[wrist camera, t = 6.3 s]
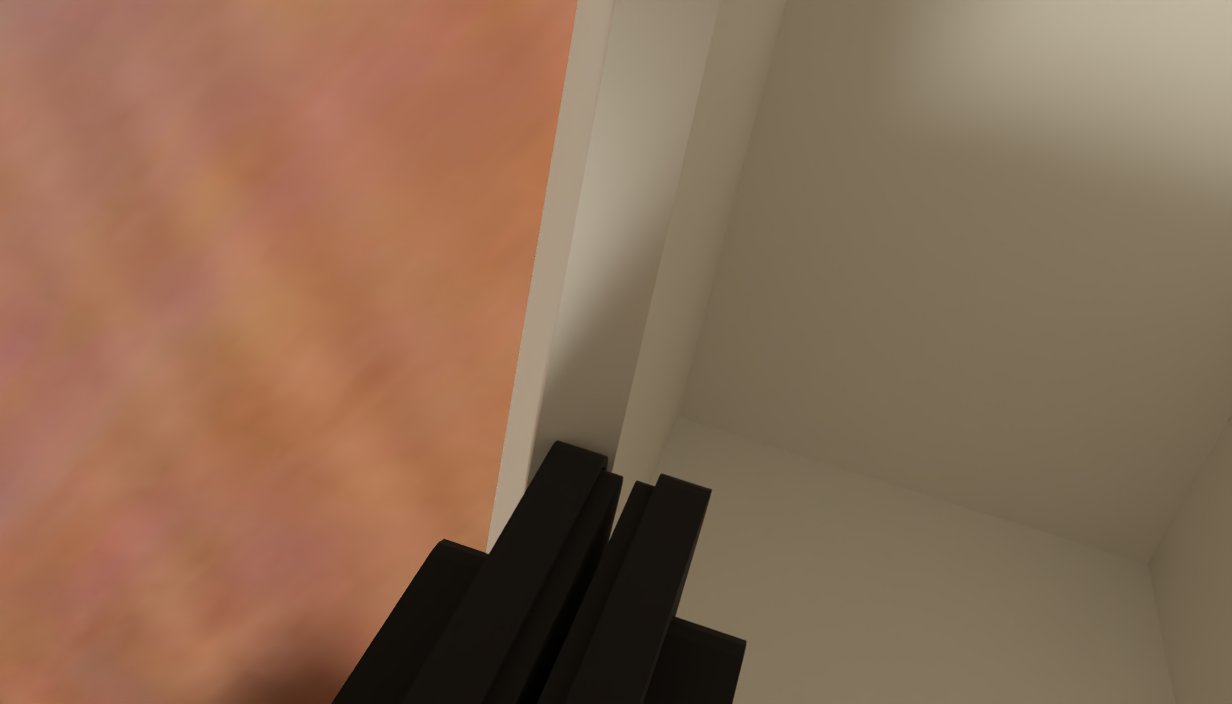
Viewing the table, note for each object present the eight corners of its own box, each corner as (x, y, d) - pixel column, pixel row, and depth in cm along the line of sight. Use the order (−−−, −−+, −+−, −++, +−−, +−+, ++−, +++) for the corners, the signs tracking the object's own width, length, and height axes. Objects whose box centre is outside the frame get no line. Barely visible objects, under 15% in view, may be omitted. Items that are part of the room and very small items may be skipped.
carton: (1706, -299, 20) (2334, -331, 11) (1176, 606, 31) (1260, 980, 22) (877, -462, 22) (799, -604, 13) (653, 440, 33) (525, 715, 24)
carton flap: (858, -606, 7) (732, -638, 7) (477, 1058, 17) (421, 1054, 17) (729, -486, 13) (661, -502, 13) (506, 674, 23) (466, 669, 23)
